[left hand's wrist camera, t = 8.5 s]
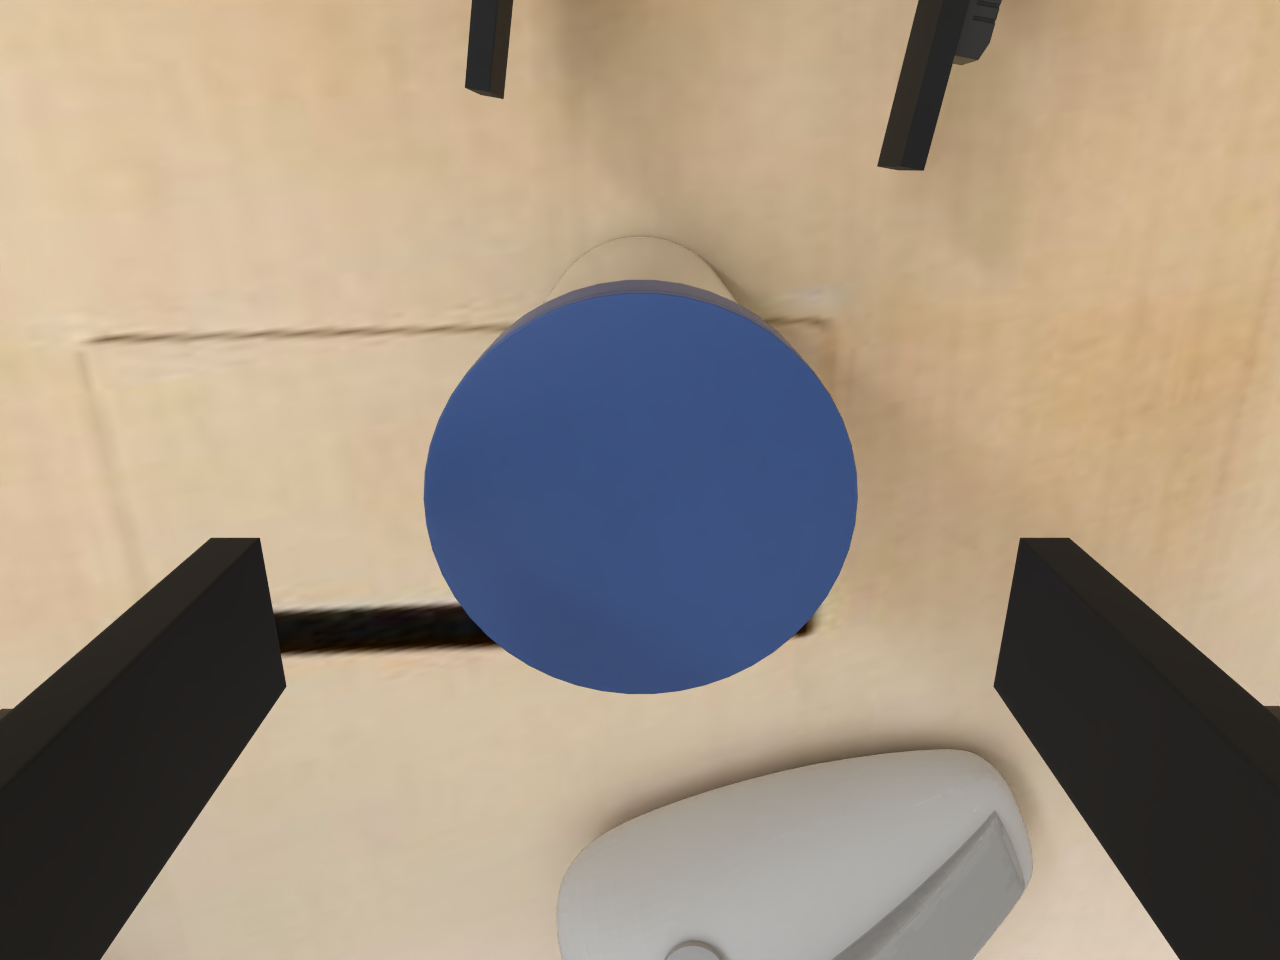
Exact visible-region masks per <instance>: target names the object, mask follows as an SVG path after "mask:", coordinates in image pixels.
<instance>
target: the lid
mask: <svg viewBox="0 0 1280 960" xmlns="http://www.w3.org/2000/svg"><path fill="white" fill-rule="evenodd" d="M857 500H858V496H857V472H856V467H855V461H854V456H853V451H852V445H851V442H850V439H849V437H848V434H847V431H846V428H845V425H844V422H843V419H842V417H841V415H840V413H839V411H838V409H837V407H836V405H835V404H834V402H833V400H832V398H831V396H830V394H829V393H828V391H827V390H826V388H825V387H824V386H823V384H822V383H821V381H820V380H819V378H818V377H817V376H816V374H815V373H814V371H813V370H812V369H811V368H810V367H809V366H808V364H807V363H806V362H805V361H804V360H803V359H802V357H801V356H800V355H799V354H798V353H797V352H796V350H795V349H794V348H793V347H792V346H791V345H790V344H789V343H788V342H787V341H786V340H785V339H784V338H783V337H782V336H781V335H780V333H779V332H777V331H776V330H775V329H774V328H772V327H771V326H770V325H769V324H767V323H766V322H765V321H764V320H762V319H761V318H760V317H759V316H757V315H756V314H754V313H752V312H751V311H749V310H747V309H746V308H744V307H742V306H741V305H739V304H737V303H736V302H734V301H732V300H729V299H727V298H725V297H722V296H720V295H718V294H715V293H713V292H711V291H708V290H704V289H700V288H697V287H693V286H690V285H686V284H682V283H675V282H667V281H660V280H621V281H614V282H607V283H599V284H595V285H592V286H588V287H585V288H581V289H577V290H574V291H571V292H568V293H566V294H564V295H561V296H559V297H557V298H554V299H552V300H550V301H547V302H546V303H544V304H542V305H541V306H539V307H537V308H536V309H534V310H532V311H531V312H529V313H527V314H526V315H524V316H523V317H521V318H520V319H519V320H518V321H516V322H515V323H514V324H513V325H511V326H510V327H509V328H508V329H506V330H505V331H504V332H503V333H502V334H501V335H500V336H499V337H498V338H497V339H496V340H495V341H494V342H493V343H492V344H491V345H490V347H489V348H488V349H487V350H486V351H485V352H484V353H483V354H482V355H481V357H480V358H479V359H478V360H477V361H476V363H475V364H474V365H473V366H472V367H471V369H470V370H469V371H468V372H467V373H466V375H465V376H464V378H463V379H462V381H461V382H460V383H459V385H458V386H457V388H456V389H455V391H454V392H453V393H452V395H451V397H450V399H449V401H448V402H447V404H446V406H445V408H444V410H443V412H442V414H441V416H440V418H439V420H438V423H437V426H436V429H435V432H434V435H433V438H432V441H431V444H430V447H429V453H428V458H427V463H426V469H425V481H424V506H425V516H426V525H427V529H428V533H429V537H430V541H431V546H432V550H433V552H434V555H435V557H436V560H437V562H438V565H439V567H440V570H441V573H442V575H443V577H444V578H445V580H446V582H447V584H448V586H449V587H450V589H451V591H452V593H453V594H454V596H455V598H456V599H457V600H458V602H459V603H460V604H461V606H462V607H463V609H464V610H465V611H466V613H467V614H468V615H469V617H470V618H471V619H472V620H473V621H474V622H475V623H476V624H477V625H478V626H479V627H480V628H481V629H482V630H483V631H484V632H485V633H486V634H487V636H489V637H490V638H491V639H492V640H494V641H495V642H496V643H497V644H498V645H500V646H501V647H502V648H503V649H505V650H506V651H507V652H508V653H510V654H512V655H513V656H515V657H516V658H518V659H519V660H521V661H523V662H524V663H526V664H527V665H529V666H531V667H533V668H535V669H537V670H539V671H541V672H543V673H545V674H548V675H550V676H552V677H554V678H557V679H560V680H563V681H566V682H569V683H572V684H575V685H578V686H582V687H587V688H591V689H595V690H600V691H607V692H616V693H625V694H657V693H666V692H675V691H681V690H686V689H690V688H695V687H699V686H704V685H707V684H710V683H713V682H715V681H718V680H721V679H724V678H727V677H730V676H732V675H734V674H736V673H738V672H740V671H742V670H744V669H746V668H748V667H750V666H752V665H754V664H755V663H757V662H759V661H760V660H762V659H763V658H765V657H767V656H768V655H770V654H771V653H773V652H774V651H775V650H777V649H778V648H779V647H780V646H782V645H783V644H784V643H785V642H787V641H788V640H789V639H790V638H791V637H793V636H794V635H795V634H796V633H797V632H798V631H799V630H800V629H801V627H802V626H803V625H804V624H805V623H806V622H807V621H808V620H809V619H810V618H811V617H812V616H813V614H814V613H815V612H816V610H817V609H818V608H819V606H820V605H821V604H822V602H823V601H824V600H825V598H826V597H827V595H828V593H829V592H830V590H831V588H832V586H833V584H834V583H835V581H836V579H837V577H838V575H839V573H840V571H841V568H842V566H843V563H844V561H845V558H846V556H847V553H848V551H849V547H850V543H851V539H852V535H853V531H854V527H855V520H856V510H857Z"/></svg>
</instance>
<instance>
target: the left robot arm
mask: <svg viewBox="0 0 1280 960" xmlns="http://www.w3.org/2000/svg"><path fill="white" fill-rule="evenodd" d="M285 688H286V681H285V676H284V670H283V665H282V659H281V654H280V648H279V642H278V637H277V631H276V626H275V620H274V614H273V609H272V603H271V598H270V592H269V587H268V581H267V575H266V570H265V564H264V559H263V553H262V548H261V542H260V538H210V539H209V540H208V541H207V542H206V543H205V544H203V545H202V546H201V547H200V548H199V549H198V550H196V551H195V552H194V553H193V554H192V555H191V556H190V557H188V558H187V559H186V560H185V561H184V562H183V563H181V564H180V565H179V566H178V567H177V568H176V569H174V570H173V571H172V572H171V573H170V574H169V575H167V576H166V577H165V578H164V579H163V580H162V581H161V582H159V583H158V584H157V585H156V586H155V587H154V588H152V589H151V590H150V591H149V592H148V593H147V594H145V595H144V596H143V597H142V598H141V599H140V600H139V601H137V602H136V603H135V604H134V605H133V606H132V607H130V608H129V609H128V610H127V611H126V612H125V613H123V614H122V615H121V616H120V617H119V618H118V619H117V620H115V621H114V622H113V623H112V624H111V625H110V626H108V627H107V628H106V629H105V630H104V631H103V632H101V633H100V634H99V635H98V636H97V637H96V638H95V639H93V640H92V641H91V642H90V643H89V644H88V645H86V646H85V647H84V648H83V649H82V650H81V651H79V652H78V653H77V654H76V655H75V656H74V657H73V658H71V659H70V660H69V661H68V662H67V663H66V664H64V665H63V666H62V667H61V668H60V669H59V670H57V671H56V672H55V673H54V674H53V675H52V676H51V677H49V678H48V679H47V680H46V681H45V682H44V683H42V684H41V685H40V686H39V687H38V688H37V689H35V690H34V691H33V692H32V693H31V694H30V695H29V696H27V697H26V698H25V699H24V700H23V701H22V702H20V703H19V704H18V705H17V706H16V707H15V708H13V709H1V710H0V960H100V959H101V958H102V956H103V955H104V953H105V952H106V950H107V949H108V948H109V946H110V945H111V943H112V942H113V940H114V939H115V937H116V936H117V934H118V933H119V931H120V930H121V928H122V927H123V925H124V924H125V923H126V921H127V920H128V918H129V917H130V915H131V914H132V912H133V911H134V909H135V908H136V906H137V905H138V903H139V902H140V901H141V899H142V898H143V896H144V895H145V893H146V892H147V890H148V889H149V887H150V886H151V884H152V883H153V881H154V880H155V879H156V877H157V876H158V874H159V873H160V871H161V870H162V868H163V867H164V865H165V864H166V862H167V861H168V859H169V858H170V857H171V855H172V854H173V852H174V851H175V849H176V848H177V846H178V845H179V843H180V842H181V840H182V839H183V837H184V836H185V835H186V833H187V832H188V830H189V829H190V827H191V826H192V824H193V823H194V821H195V820H196V818H197V817H198V815H199V814H200V812H201V811H202V810H203V808H204V807H205V805H206V804H207V802H208V801H209V799H210V798H211V796H212V795H213V793H214V792H215V790H216V789H217V788H218V786H219V785H220V783H221V782H222V780H223V779H224V777H225V776H226V774H227V773H228V771H229V770H230V768H231V767H232V766H233V764H234V763H235V761H236V760H237V758H238V757H239V755H240V754H241V752H242V751H243V749H244V748H245V746H246V745H247V744H248V742H249V741H250V739H251V738H252V736H253V735H254V733H255V732H256V730H257V729H258V727H259V726H260V724H261V723H262V722H263V720H264V719H265V717H266V716H267V714H268V713H269V711H270V710H271V708H272V707H273V705H274V704H275V702H276V701H277V700H278V698H279V697H280V695H281V694H282V692H283V691H284V689H285ZM994 688H995V689H996V691H997V692H998V694H999V695H1000V697H1001V698H1002V700H1003V701H1004V702H1005V704H1006V705H1007V707H1008V708H1009V710H1010V711H1011V713H1012V714H1013V716H1014V717H1015V719H1016V720H1017V722H1018V723H1019V724H1020V726H1021V727H1022V729H1023V730H1024V732H1025V733H1026V735H1027V736H1028V738H1029V739H1030V741H1031V742H1032V744H1033V745H1034V746H1035V748H1036V749H1037V751H1038V752H1039V754H1040V755H1041V757H1042V758H1043V760H1044V761H1045V763H1046V764H1047V766H1048V767H1049V768H1050V770H1051V771H1052V773H1053V774H1054V776H1055V777H1056V779H1057V780H1058V782H1059V783H1060V785H1061V786H1062V788H1063V789H1064V790H1065V792H1066V793H1067V795H1068V796H1069V798H1070V799H1071V801H1072V802H1073V804H1074V805H1075V807H1076V808H1077V810H1078V811H1079V812H1080V814H1081V815H1082V817H1083V818H1084V820H1085V821H1086V823H1087V824H1088V826H1089V827H1090V829H1091V830H1092V832H1093V833H1094V835H1095V836H1096V837H1097V839H1098V840H1099V842H1100V843H1101V845H1102V846H1103V848H1104V849H1105V851H1106V852H1107V854H1108V855H1109V857H1110V858H1111V859H1112V861H1113V862H1114V864H1115V865H1116V867H1117V868H1118V870H1119V871H1120V873H1121V874H1122V876H1123V877H1124V879H1125V880H1126V881H1127V883H1128V884H1129V886H1130V887H1131V889H1132V890H1133V892H1134V893H1135V895H1136V896H1137V898H1138V899H1139V901H1140V902H1141V903H1142V905H1143V906H1144V908H1145V909H1146V911H1147V912H1148V914H1149V915H1150V917H1151V918H1152V920H1153V921H1154V923H1155V924H1156V925H1157V927H1158V928H1159V930H1160V931H1161V933H1162V934H1163V936H1164V937H1165V939H1166V940H1167V942H1168V943H1169V945H1170V946H1171V948H1172V949H1173V950H1174V952H1175V953H1176V955H1177V956H1178V958H1179V959H1180V960H1280V707H1279V706H1263V705H1262V704H1261V703H1260V702H1258V701H1257V700H1256V699H1255V698H1254V697H1253V696H1251V695H1250V694H1249V693H1248V692H1247V691H1246V690H1245V689H1243V688H1242V687H1241V686H1240V685H1239V684H1238V683H1236V682H1235V681H1234V680H1233V679H1232V678H1231V677H1229V676H1228V675H1227V674H1226V673H1225V672H1224V671H1223V670H1221V669H1220V668H1219V667H1218V666H1217V665H1216V664H1214V663H1213V662H1212V661H1211V660H1210V659H1209V658H1207V657H1206V656H1205V655H1204V654H1203V653H1202V652H1201V651H1199V650H1198V649H1197V648H1196V647H1195V646H1194V645H1192V644H1191V643H1190V642H1189V641H1188V640H1187V639H1185V638H1184V637H1183V636H1182V635H1181V634H1180V633H1179V632H1177V631H1176V630H1175V629H1174V628H1173V627H1172V626H1170V625H1169V624H1168V623H1167V622H1166V621H1165V620H1163V619H1162V618H1161V617H1160V616H1159V615H1158V614H1157V613H1155V612H1154V611H1153V610H1152V609H1151V608H1150V607H1148V606H1147V605H1146V604H1145V603H1144V602H1143V601H1141V600H1140V599H1139V598H1138V597H1137V596H1136V595H1135V594H1133V593H1132V592H1131V591H1130V590H1129V589H1128V588H1126V587H1125V586H1124V585H1123V584H1122V583H1121V582H1119V581H1118V580H1117V579H1116V578H1115V577H1114V576H1113V575H1111V574H1110V573H1109V572H1108V571H1107V570H1106V569H1104V568H1103V567H1102V566H1101V565H1100V564H1099V563H1097V562H1096V561H1095V560H1094V559H1093V558H1092V557H1090V556H1089V555H1088V554H1087V553H1086V552H1085V551H1084V550H1082V549H1081V548H1080V547H1079V546H1078V545H1077V544H1075V543H1074V542H1073V541H1072V540H1071V539H1070V538H1020V542H1019V548H1018V553H1017V559H1016V564H1015V570H1014V575H1013V581H1012V587H1011V592H1010V598H1009V603H1008V609H1007V614H1006V620H1005V626H1004V631H1003V637H1002V642H1001V648H1000V654H999V659H998V665H997V670H996V676H995V681H994Z"/></svg>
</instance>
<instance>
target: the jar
mask: <svg viewBox="0 0 1280 960" xmlns="http://www.w3.org/2000/svg"><path fill="white" fill-rule="evenodd" d="M621 280H660V281H667V282H675V283H682V284H686V285H690V286H693V287H697V288H700V289H704V290H708V291H711V292H713V293H715V294H718V295H720V296H722V297H725V298H727V299H729V300H732V301H734V302H736V300H735V299H734V297H733V296H732V295H731V293H730V292H729V290H728V289H727V288H726V286H725V285H724V284H723V282H722V281H721V279H720V278H719V277H718V275H717V274H716V272H715V271H714V270H713V269H712V268H711V267H710V266H709V265H708V264H707V263H706V262H705V261H704V260H703V259H702V258H700V257H699V256H698V255H697V254H695V253H694V252H692V251H690V250H689V249H687V248H685V247H684V246H681V245H679V244H677V243H674V242H672V241H668V240H664V239H661V238H655V237H647V236H633V237H626V238H620V239H616V240H613V241H609V242H606V243H604V244H602V245H599V246H597V247H595V248H593V249H592V250H590V251H589V252H587V253H585V254H584V255H583V256H581V257H580V258H579V259H578V260H576V261H575V262H574V263H573V264H572V265H571V266H570V267H569V269H568V270H567V271H566V272H565V273H564V275H563V276H562V277H561V279H560V280H559V282H558V283H557V284H556V286H555V287H554V289H553V290H552V291H551V293H550V294H549V296H548V297H547V298H546V300H545V301H544V303H546V302H547V301H550V300H552V299H554V298H557V297H559V296H561V295H564V294H566V293H568V292H571V291H574V290H577V289H581V288H585V287H588V286H592V285H595V284H599V283H607V282H614V281H621ZM544 303H543V304H544ZM736 303H737V302H736ZM737 304H738V303H737Z"/></svg>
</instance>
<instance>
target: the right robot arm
mask: <svg viewBox="0 0 1280 960" xmlns="http://www.w3.org/2000/svg"><path fill="white" fill-rule="evenodd" d="M1000 4H1001V0H919V1H918V5H917V9H916V13H915V17H914V21H913V25H912V29H911V33H910V37H909V41H908V45H907V49H906V53H905V57H904V61H903V65H902V69H901V73H900V77H899V81H898V85H897V89H896V93H895V97H894V101H893V105H892V109H891V113H890V117H889V121H888V125H887V129H886V133H885V137H884V141H883V145H882V149H881V153H880V157H879V161H878V165H877V166H878V167H884V168H889V169H895V170H924V168H925V164H926V160H927V157H928V153H929V149H930V145H931V142H932V138H933V134H934V131H935V127H936V123H937V119H938V116H939V112H940V108H941V105H942V101H943V97H944V93H945V90H946V86H947V82H948V79H949V75H950V71H951V67H952V64H958V65H963V64H967V63H970V62H973V61H976V60H978V59H979V58H980V56H981V55H982V53H983V52H984V50H985V49H986V47H987V46H988V44H989V43H990V39H991V36H992V32H993V29H994V25H995V20H996V18H997V15H998V11H999V6H1000ZM512 6H513V0H472V8H471V20H470V33H469V45H468V57H467V69H466V81H465V88H467V89H469V90H471V91H474V92H476V93H478V94H480V95H485V96H490V97H496V98H501V99H504V88H505V78H506V68H507V58H508V47H509V37H510V27H511V17H512Z"/></svg>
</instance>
